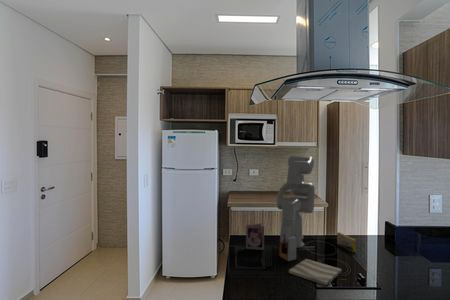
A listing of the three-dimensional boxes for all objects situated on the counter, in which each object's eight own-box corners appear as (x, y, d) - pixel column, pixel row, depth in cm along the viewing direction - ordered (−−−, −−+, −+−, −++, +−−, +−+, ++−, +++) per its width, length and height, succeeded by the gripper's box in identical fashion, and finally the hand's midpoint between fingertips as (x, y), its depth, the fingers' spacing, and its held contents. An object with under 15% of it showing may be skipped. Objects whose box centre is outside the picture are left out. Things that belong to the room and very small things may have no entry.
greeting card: (245, 249, 183) (246, 225, 182) (246, 245, 190) (246, 222, 190) (264, 250, 181) (264, 226, 181) (263, 246, 188) (264, 223, 188)
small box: (279, 256, 171) (279, 234, 171) (287, 254, 174) (287, 233, 174) (288, 261, 164) (288, 239, 164) (296, 259, 167) (296, 237, 167)
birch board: (305, 261, 165) (305, 258, 165) (341, 272, 152) (341, 269, 152) (288, 272, 150) (288, 270, 150) (326, 285, 136) (326, 282, 136)
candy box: (336, 244, 194) (337, 232, 194) (339, 244, 195) (339, 232, 195) (353, 253, 179) (353, 240, 179) (356, 253, 179) (356, 239, 179)
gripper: (289, 217, 178) (289, 246, 178) (275, 223, 164) (274, 254, 165) (301, 220, 173) (300, 249, 173) (286, 226, 160) (286, 257, 160)
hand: (287, 251), depth 169 cm, fingers closed on small box, 7 cm apart
